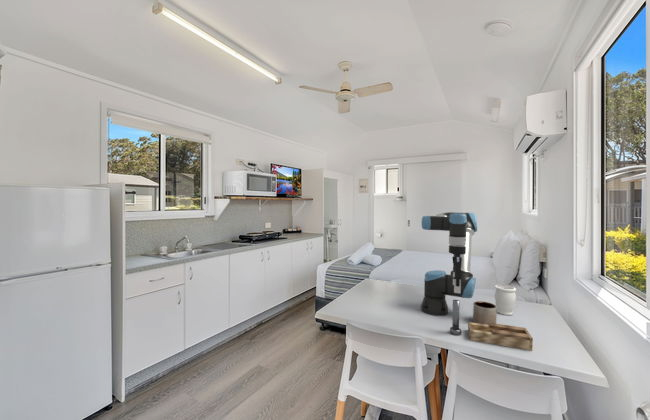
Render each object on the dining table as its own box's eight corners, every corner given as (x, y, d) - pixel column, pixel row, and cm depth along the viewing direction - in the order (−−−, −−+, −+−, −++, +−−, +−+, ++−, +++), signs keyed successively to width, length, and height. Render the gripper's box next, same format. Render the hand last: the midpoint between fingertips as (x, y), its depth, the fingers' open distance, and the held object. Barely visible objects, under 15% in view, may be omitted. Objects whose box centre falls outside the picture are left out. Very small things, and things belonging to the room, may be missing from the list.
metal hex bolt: (450, 334, 137) (450, 301, 137) (449, 330, 142) (450, 298, 141) (461, 336, 135) (462, 303, 135) (460, 331, 140) (461, 299, 139)
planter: (496, 328, 144) (496, 310, 144) (472, 323, 150) (472, 305, 149) (496, 321, 153) (496, 303, 153) (473, 316, 159) (474, 299, 159)
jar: (518, 317, 159) (519, 290, 159) (498, 315, 161) (499, 289, 161) (510, 310, 169) (511, 285, 169) (491, 308, 171) (492, 283, 171)
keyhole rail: (470, 340, 132) (470, 328, 132) (468, 330, 142) (468, 319, 142) (532, 350, 123) (532, 338, 123) (525, 339, 133) (525, 327, 133)
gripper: (468, 249, 124) (467, 297, 125) (463, 242, 148) (463, 283, 148) (449, 248, 127) (448, 295, 128) (448, 241, 150) (447, 281, 151)
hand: (456, 288), depth 138 cm, fingers open, 13 cm apart
